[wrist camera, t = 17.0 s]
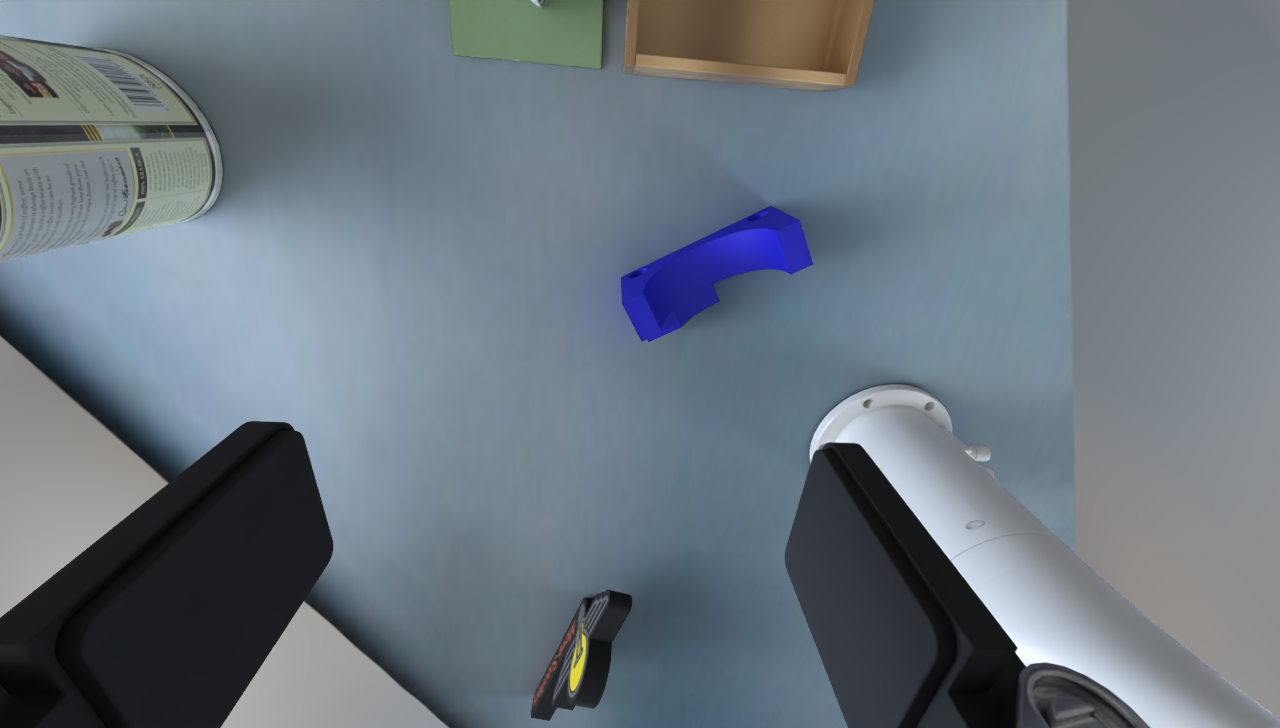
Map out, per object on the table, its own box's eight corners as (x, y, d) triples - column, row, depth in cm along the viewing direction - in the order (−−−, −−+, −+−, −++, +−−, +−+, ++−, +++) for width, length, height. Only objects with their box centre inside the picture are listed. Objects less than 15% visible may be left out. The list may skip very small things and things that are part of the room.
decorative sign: (610, 545, 49) (609, 640, 40) (630, 551, 49) (633, 645, 40) (533, 695, 59) (518, 797, 50) (550, 698, 60) (539, 799, 51)
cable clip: (646, 326, 38) (651, 359, 33) (620, 277, 36) (622, 303, 31) (789, 261, 36) (819, 285, 31) (770, 205, 34) (799, 220, 29)
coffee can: (50, 187, 32) (-325, 228, 19) (35, 14, 28) (-452, -80, 15) (221, 249, 34) (-13, 321, 21) (231, 96, 30) (-50, 74, 17)
